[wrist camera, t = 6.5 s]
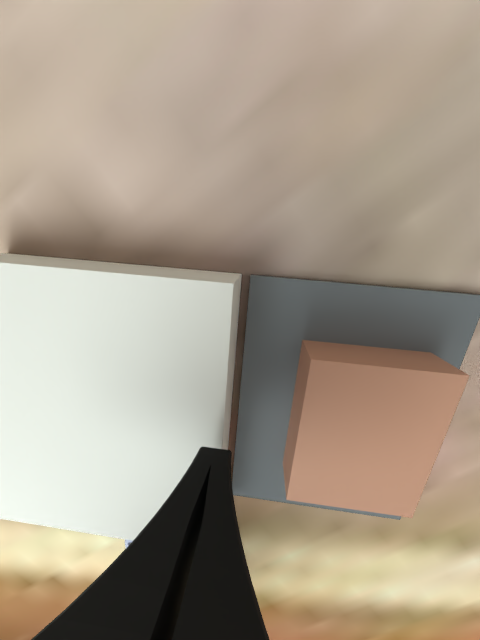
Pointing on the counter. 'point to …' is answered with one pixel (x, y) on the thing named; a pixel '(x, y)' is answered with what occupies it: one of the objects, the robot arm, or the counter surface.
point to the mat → (334, 327)
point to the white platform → (109, 387)
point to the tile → (367, 425)
